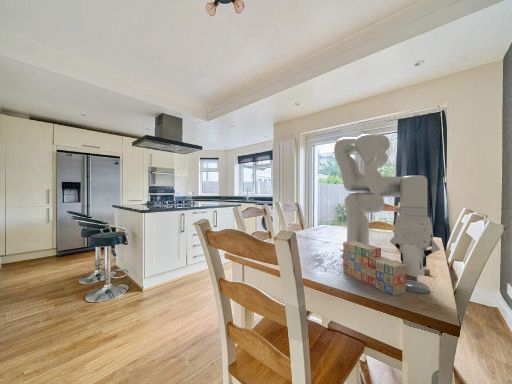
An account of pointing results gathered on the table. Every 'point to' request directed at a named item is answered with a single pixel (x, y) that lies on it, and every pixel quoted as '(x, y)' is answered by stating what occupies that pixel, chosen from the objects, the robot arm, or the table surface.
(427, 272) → the walnut rack
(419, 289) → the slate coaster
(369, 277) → the stack of blocks
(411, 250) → the white cylinder
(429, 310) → the table surface
